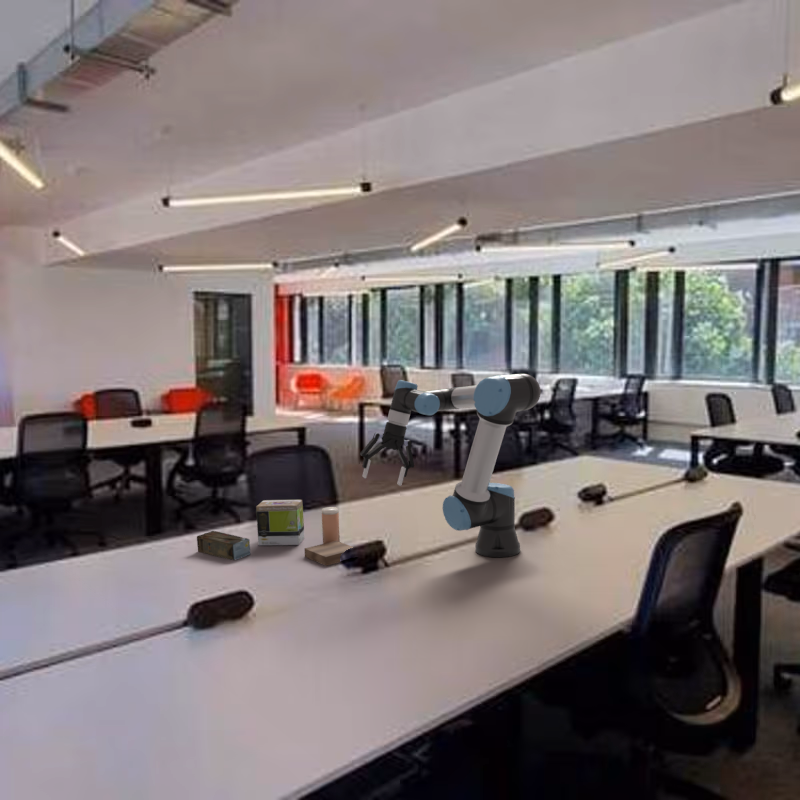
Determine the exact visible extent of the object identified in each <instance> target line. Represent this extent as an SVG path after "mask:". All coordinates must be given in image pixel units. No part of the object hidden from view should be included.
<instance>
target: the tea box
mask: <svg viewBox="0 0 800 800" xmlns="http://www.w3.org/2000/svg"><path fill="white" fill-rule="evenodd" d="M255 508H256V510H255V513H256V527H257V528H256V530H257V543H258V546H299V545H300V544H301V543H302V541H304V539H305V524H304V523H305V522H304V519H305V518H304V506H303V499H266V500H265V499H264V500H262V501H261V502H260V503H259V504H258V505H256V506H255Z"/></svg>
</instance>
